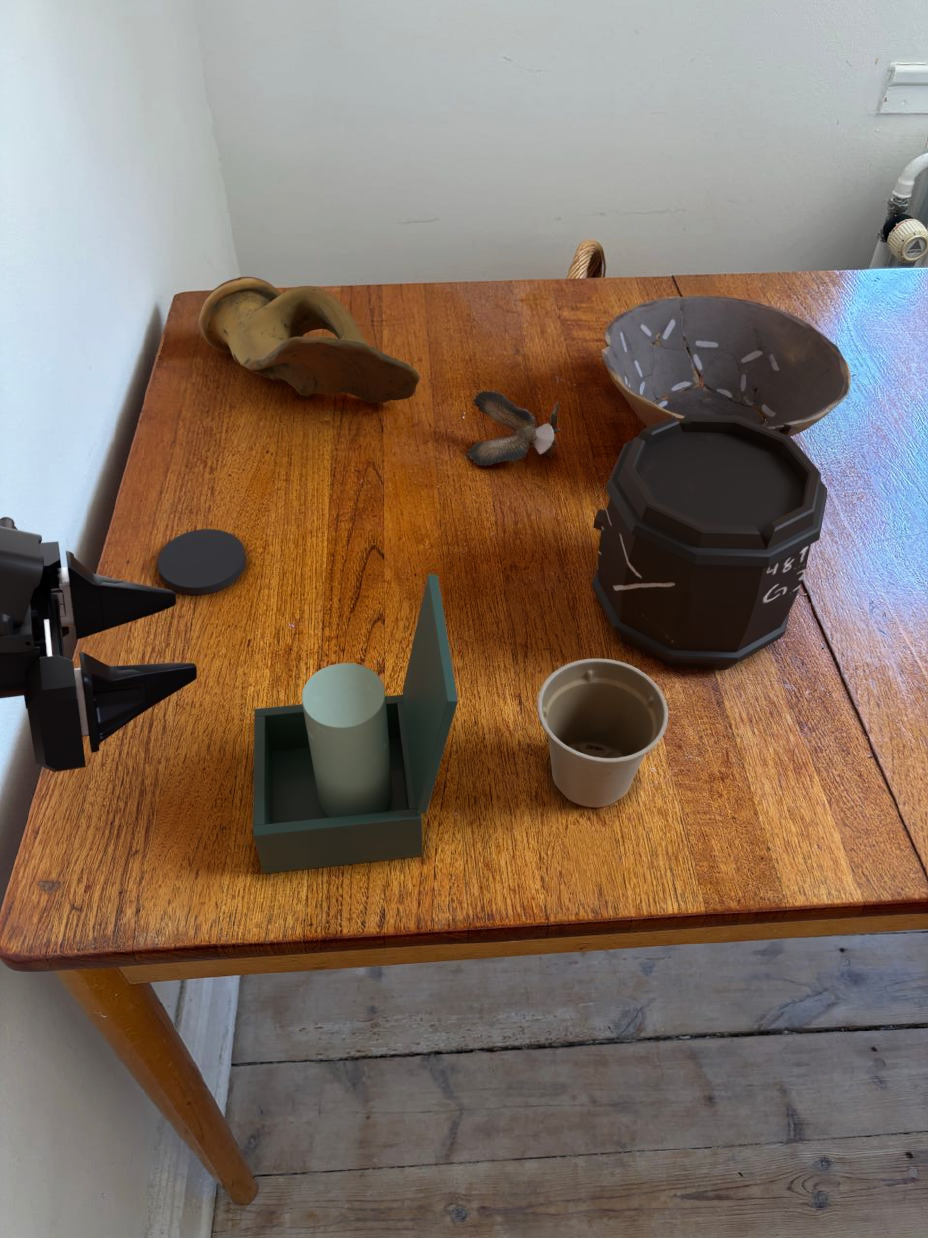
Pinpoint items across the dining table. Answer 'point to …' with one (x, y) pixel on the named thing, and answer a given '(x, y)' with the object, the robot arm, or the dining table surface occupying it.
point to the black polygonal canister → (706, 539)
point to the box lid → (429, 694)
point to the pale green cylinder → (348, 739)
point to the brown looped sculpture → (301, 341)
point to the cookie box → (291, 808)
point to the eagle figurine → (519, 422)
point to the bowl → (724, 362)
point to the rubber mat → (201, 562)
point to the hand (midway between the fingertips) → (185, 632)
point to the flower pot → (599, 727)
